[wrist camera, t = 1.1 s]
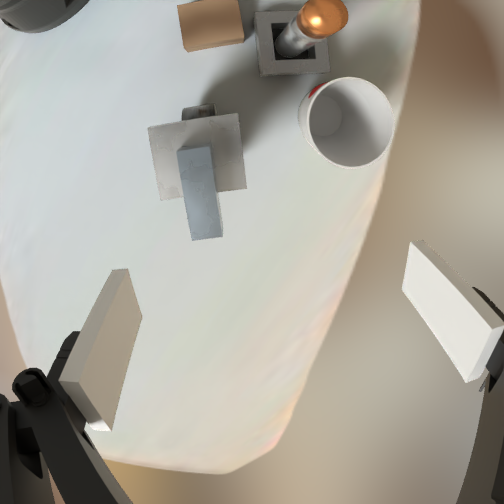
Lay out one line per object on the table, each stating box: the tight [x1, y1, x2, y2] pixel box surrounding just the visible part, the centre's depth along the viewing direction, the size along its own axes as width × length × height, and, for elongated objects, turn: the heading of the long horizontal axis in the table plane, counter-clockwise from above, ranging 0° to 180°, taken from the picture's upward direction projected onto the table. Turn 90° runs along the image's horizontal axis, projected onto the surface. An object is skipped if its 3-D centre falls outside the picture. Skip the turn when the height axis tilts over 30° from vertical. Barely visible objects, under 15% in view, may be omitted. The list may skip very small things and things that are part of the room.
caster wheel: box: [148, 104, 247, 241], centre depth 29 cm, size 10×7×13 cm
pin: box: [275, 0, 348, 58], centre depth 23 cm, size 3×3×15 cm
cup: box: [298, 77, 395, 169], centre depth 29 cm, size 8×8×10 cm
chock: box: [177, 0, 244, 52], centre depth 27 cm, size 5×6×4 cm
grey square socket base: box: [253, 11, 330, 76], centre depth 29 cm, size 7×7×3 cm
